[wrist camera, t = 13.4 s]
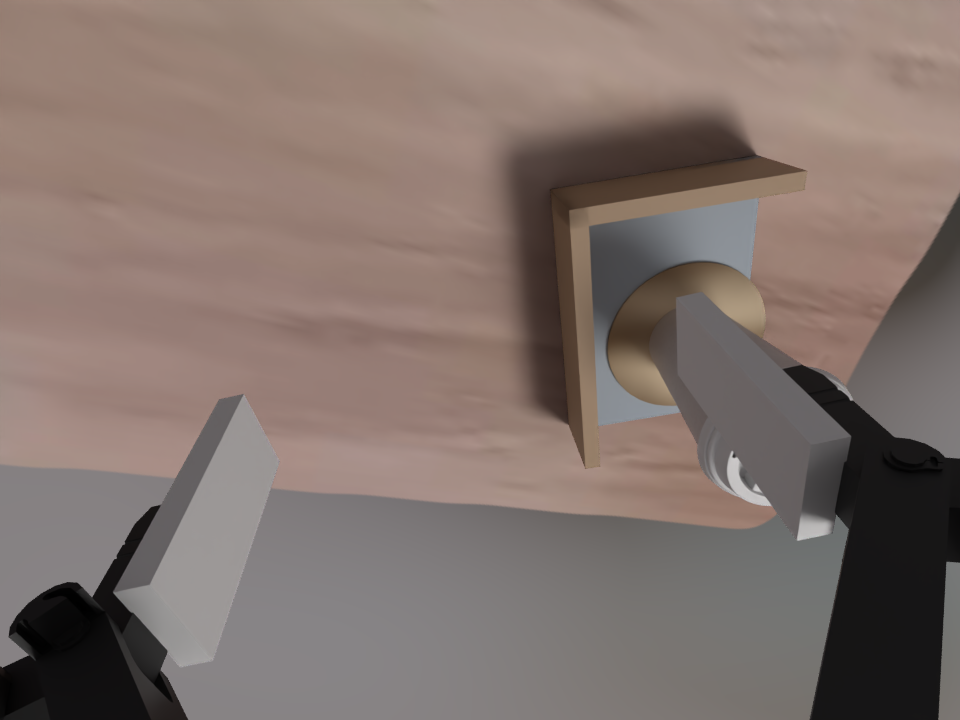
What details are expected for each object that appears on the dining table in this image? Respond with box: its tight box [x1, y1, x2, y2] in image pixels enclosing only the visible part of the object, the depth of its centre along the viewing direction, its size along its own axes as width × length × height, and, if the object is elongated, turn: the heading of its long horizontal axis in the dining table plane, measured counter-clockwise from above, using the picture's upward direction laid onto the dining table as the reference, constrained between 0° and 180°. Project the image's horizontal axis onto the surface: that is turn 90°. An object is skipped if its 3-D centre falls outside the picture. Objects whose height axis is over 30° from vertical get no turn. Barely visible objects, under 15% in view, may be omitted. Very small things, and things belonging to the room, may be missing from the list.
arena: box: [550, 155, 807, 469], centre depth 42 cm, size 21×15×6 cm
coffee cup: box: [649, 308, 853, 506], centre depth 39 cm, size 10×10×15 cm
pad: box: [607, 262, 765, 406], centre depth 45 cm, size 13×13×1 cm
